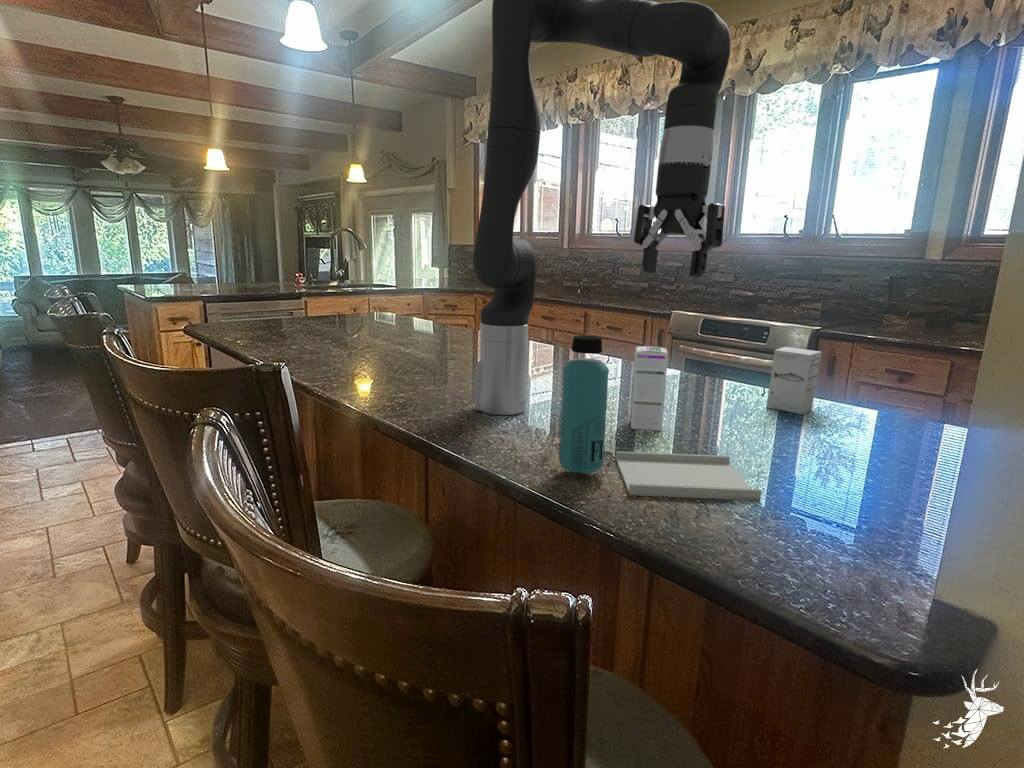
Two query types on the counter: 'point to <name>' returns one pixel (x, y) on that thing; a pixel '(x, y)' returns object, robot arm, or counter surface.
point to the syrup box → (649, 388)
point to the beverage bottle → (584, 408)
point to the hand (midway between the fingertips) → (671, 274)
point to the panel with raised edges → (683, 476)
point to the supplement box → (793, 379)
